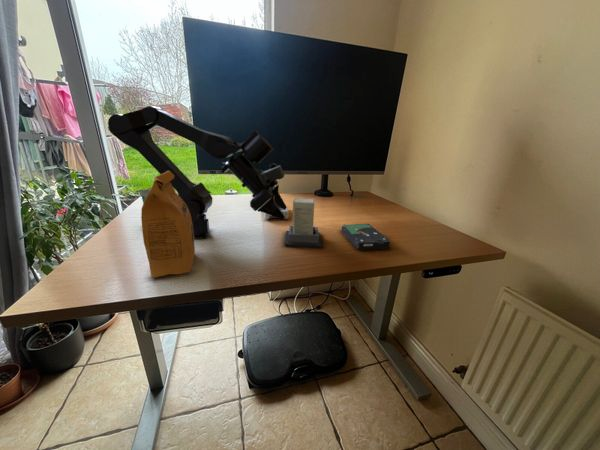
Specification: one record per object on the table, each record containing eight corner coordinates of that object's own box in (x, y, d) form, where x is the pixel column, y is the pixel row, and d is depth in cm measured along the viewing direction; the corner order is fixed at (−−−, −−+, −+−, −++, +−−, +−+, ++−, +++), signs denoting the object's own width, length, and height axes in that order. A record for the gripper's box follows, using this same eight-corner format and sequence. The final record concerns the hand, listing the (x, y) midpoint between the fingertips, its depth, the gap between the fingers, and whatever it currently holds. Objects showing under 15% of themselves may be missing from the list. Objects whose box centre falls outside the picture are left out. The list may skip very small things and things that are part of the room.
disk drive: (389, 249, 73) (367, 230, 86) (391, 241, 72) (368, 222, 85) (358, 251, 71) (340, 231, 84) (359, 242, 70) (341, 223, 83)
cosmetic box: (312, 235, 77) (315, 199, 73) (312, 241, 73) (315, 202, 69) (292, 233, 78) (294, 197, 73) (291, 239, 74) (293, 201, 69)
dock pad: (321, 248, 71) (322, 237, 70) (284, 246, 71) (285, 236, 70) (319, 234, 81) (320, 225, 79) (286, 232, 80) (286, 223, 79)
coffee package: (201, 251, 65) (192, 169, 57) (193, 277, 54) (180, 180, 46) (161, 253, 63) (146, 169, 55) (143, 281, 52) (121, 179, 44)
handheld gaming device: (283, 208, 105) (283, 200, 104) (288, 220, 92) (288, 210, 90) (262, 209, 103) (262, 200, 102) (265, 221, 90) (264, 211, 88)
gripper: (262, 158, 58) (305, 205, 62) (271, 151, 75) (304, 188, 79) (231, 188, 60) (274, 231, 65) (247, 175, 78) (279, 210, 82)
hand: (284, 213), depth 73 cm, fingers open, 9 cm apart
